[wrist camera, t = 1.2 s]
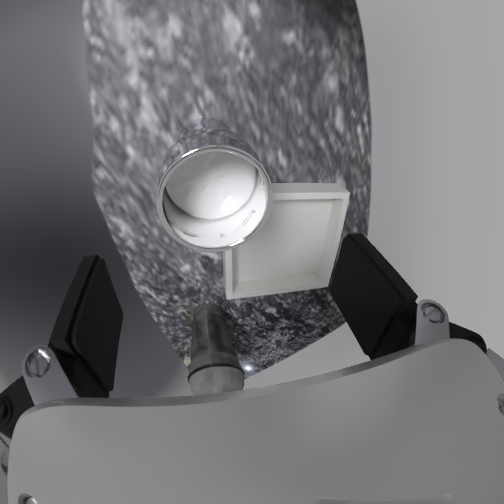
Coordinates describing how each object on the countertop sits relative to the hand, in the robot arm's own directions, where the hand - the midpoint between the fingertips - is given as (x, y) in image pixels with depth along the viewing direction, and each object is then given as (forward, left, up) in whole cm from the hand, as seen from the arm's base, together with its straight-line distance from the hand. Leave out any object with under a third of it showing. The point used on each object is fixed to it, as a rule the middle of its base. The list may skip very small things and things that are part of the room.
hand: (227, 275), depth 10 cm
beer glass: (0, 0, -21) cm, 21 cm away
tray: (+12, +9, -21) cm, 25 cm away
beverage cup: (+25, -1, -21) cm, 32 cm away
